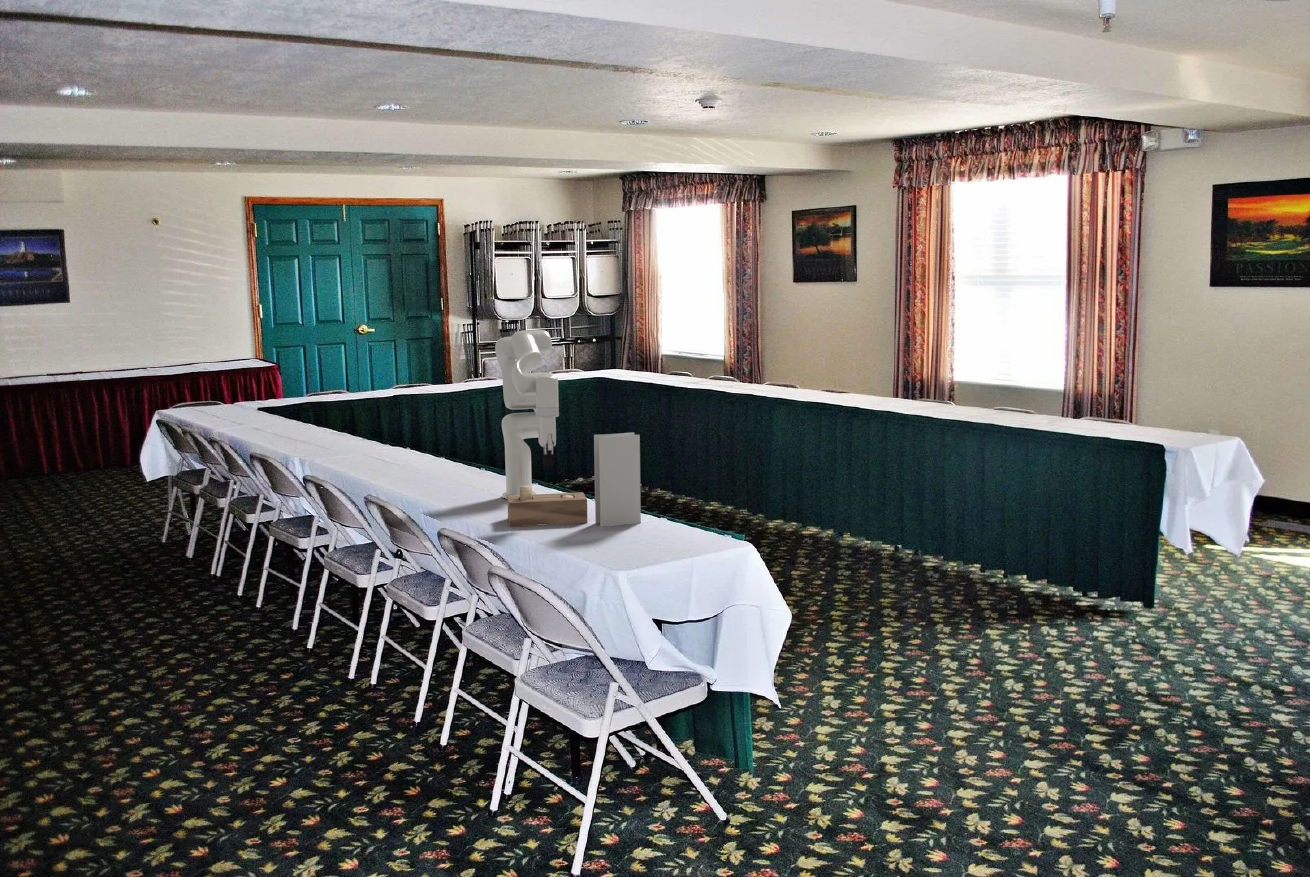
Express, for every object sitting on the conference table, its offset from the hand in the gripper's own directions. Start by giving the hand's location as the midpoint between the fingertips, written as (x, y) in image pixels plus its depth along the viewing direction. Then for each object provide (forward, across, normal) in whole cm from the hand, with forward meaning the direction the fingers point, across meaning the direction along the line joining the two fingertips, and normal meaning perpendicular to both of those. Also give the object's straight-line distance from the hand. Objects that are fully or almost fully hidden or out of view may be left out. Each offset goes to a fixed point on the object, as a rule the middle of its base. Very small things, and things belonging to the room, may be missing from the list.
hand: (548, 465), depth 371 cm
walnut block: (+19, 0, -1) cm, 19 cm away
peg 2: (+18, 0, +6) cm, 19 cm away
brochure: (+19, +10, +22) cm, 31 cm away
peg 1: (+14, 0, -8) cm, 17 cm away
